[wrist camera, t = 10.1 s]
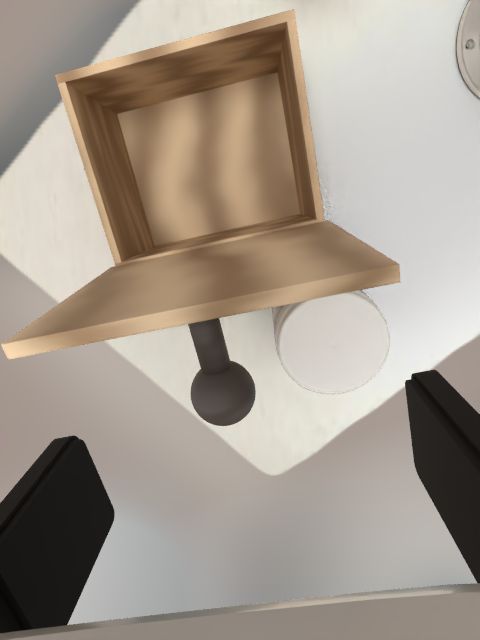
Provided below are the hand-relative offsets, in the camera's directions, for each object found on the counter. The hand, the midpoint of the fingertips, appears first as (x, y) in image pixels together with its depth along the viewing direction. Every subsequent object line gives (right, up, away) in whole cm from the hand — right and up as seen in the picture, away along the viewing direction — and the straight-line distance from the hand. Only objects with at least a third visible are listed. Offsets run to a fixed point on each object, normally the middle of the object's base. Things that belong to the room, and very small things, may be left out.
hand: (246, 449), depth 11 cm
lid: (-2, +7, +13) cm, 15 cm away
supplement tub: (+8, +6, +34) cm, 36 cm away
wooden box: (-3, +20, +30) cm, 36 cm away
